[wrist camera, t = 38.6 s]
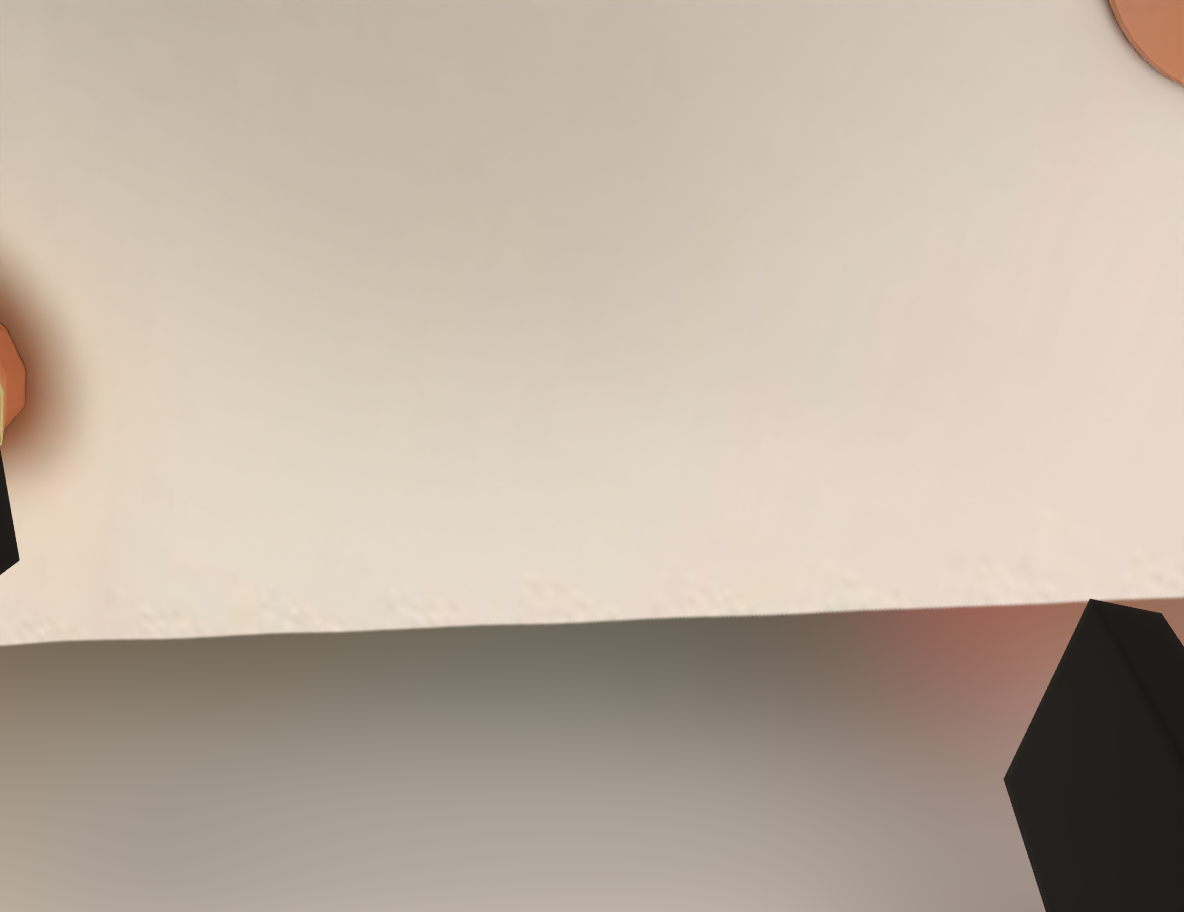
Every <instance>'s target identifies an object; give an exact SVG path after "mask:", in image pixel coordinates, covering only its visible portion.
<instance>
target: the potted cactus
mask: <svg viewBox="0 0 1184 912" xmlns="http://www.w3.org/2000/svg"><path fill="white" fill-rule="evenodd" d="M25 377H26V369H25V367H24V365H23V363H22V361H21V359H20V357H19V354H18V352H17V350H16V348H15V346H14V344H13V342H12V340H11V338H10V336H9V333H8V331H7V329H6V328H5V327H4V326H3V325H2V324H0V446H1V445H2V439H3V432H4V429H5V428H6V427H7V426H8V424H9V423H10V422H11V421H12V420H13V419H14V418H15V416H16V415H17V414H18V413H19V412H20V411H21V410H22V408H23V407H24V406H25Z"/></svg>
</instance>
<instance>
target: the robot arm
mask: <svg viewBox="0 0 1184 912" xmlns="http://www.w3.org/2000/svg"><path fill="white" fill-rule="evenodd" d="M19 560H20V559H19V554H18V548H17V542H16V537H15V531H14V525H13V519H12V514H11V508H10V502H9V496H8V491H7V485H6V479H5V473H4V468H3V462H2V456H1V450H0V575H1V574H2V573H3V572H5V571H6V570H7V569H9V568H10V567H11V566H13V565H14V564H15V563H17V562H18V561H19ZM1004 782H1005V785H1006V788H1007V791H1008V794H1009V797H1010V801H1011V803H1012V807H1013V810H1014V813H1015V816H1016V819H1017V822H1018V825H1019V829H1020V832H1021V835H1022V838H1023V841H1024V844H1025V848H1026V850H1027V854H1028V857H1029V860H1030V863H1031V866H1032V869H1033V872H1034V876H1035V879H1036V882H1037V885H1038V888H1039V891H1040V895H1041V898H1042V901H1043V904H1044V907H1045V910H1046V912H1184V646H1183V645H1182V643H1181V642H1180V640H1179V639H1178V637H1177V636H1176V634H1175V633H1174V631H1173V630H1172V628H1171V627H1170V626H1169V624H1168V622H1167V621H1166V620H1165V618H1164V616H1163V615H1162V614H1161V613H1157V612H1152V611H1147V610H1142V609H1137V608H1132V607H1128V606H1122V605H1118V604H1113V603H1108V602H1103V601H1098V600H1094V599H1090V600H1089V602H1088V604H1087V606H1086V608H1085V610H1084V612H1083V614H1082V617H1081V618H1080V621H1079V623H1078V625H1077V627H1076V629H1075V631H1074V633H1073V635H1072V637H1071V640H1070V642H1069V644H1068V646H1067V648H1066V650H1065V652H1064V654H1063V656H1062V658H1061V660H1060V663H1059V664H1058V667H1057V669H1056V671H1055V673H1054V675H1053V677H1052V679H1051V681H1050V683H1049V686H1048V687H1047V690H1046V692H1045V694H1044V696H1043V698H1042V700H1041V702H1040V704H1039V706H1038V708H1037V711H1036V713H1035V715H1034V717H1033V719H1032V721H1031V723H1030V725H1029V727H1028V729H1027V732H1026V734H1025V736H1024V738H1023V740H1022V742H1021V744H1020V746H1019V748H1018V750H1017V752H1016V755H1015V756H1014V759H1013V761H1012V763H1011V765H1010V767H1009V769H1008V771H1007V773H1006V775H1005V777H1004Z"/></svg>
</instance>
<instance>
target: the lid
mask: <svg viewBox="0 0 1184 912" xmlns="http://www.w3.org/2000/svg"><path fill="white" fill-rule="evenodd" d="M1109 2H1110V5H1111V7H1112V10H1113V12H1114V15H1115V17H1116V20H1117V22H1118V24H1119V26H1120V27H1121V29H1122V31H1123V32H1124V34H1125V36H1126V37H1127V39H1128V41H1129V42H1130V43H1131V44H1132V46H1133V47H1134V48H1135V49H1136V50H1137V51H1138V53H1139V54H1140V55H1141V56H1142V57H1143V59H1145V60H1146V61H1147V62H1148V63H1149V64H1150V65H1152V66H1153V67H1154V68H1155V69H1156V70H1158V71H1159V72H1160V73H1161V74H1163V75H1165V76H1166V77H1168V78H1170V79H1171V80H1173V81H1175V82H1176V83H1178V84H1180V85H1182V86H1184V0H1109Z"/></svg>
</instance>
